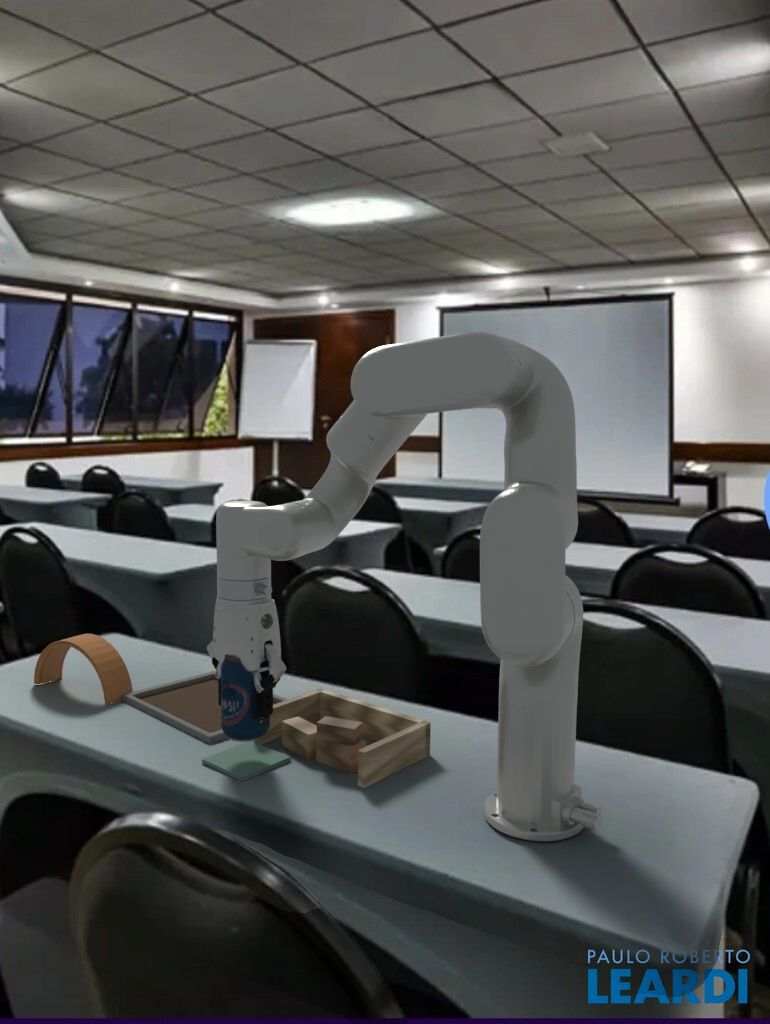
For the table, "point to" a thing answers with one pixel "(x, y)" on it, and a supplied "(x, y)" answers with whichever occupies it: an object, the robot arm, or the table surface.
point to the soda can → (240, 703)
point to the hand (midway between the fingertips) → (245, 708)
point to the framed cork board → (186, 705)
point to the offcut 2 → (338, 754)
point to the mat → (246, 760)
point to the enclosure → (393, 731)
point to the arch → (99, 656)
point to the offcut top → (340, 730)
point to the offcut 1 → (300, 737)
